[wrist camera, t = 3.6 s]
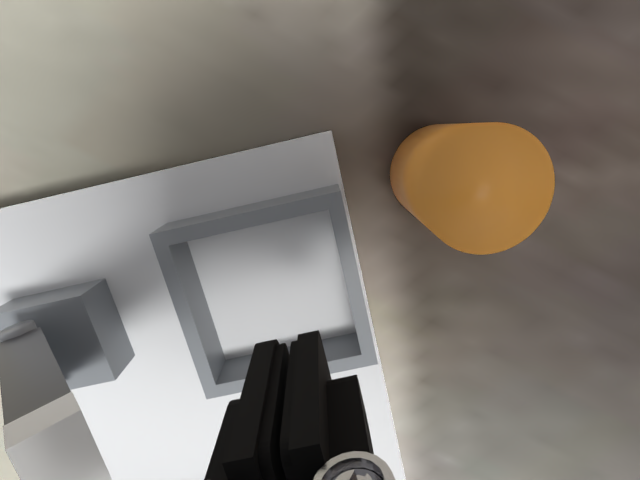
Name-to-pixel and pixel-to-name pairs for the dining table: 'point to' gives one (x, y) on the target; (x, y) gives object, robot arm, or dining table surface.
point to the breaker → (43, 412)
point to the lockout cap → (474, 183)
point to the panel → (192, 296)
